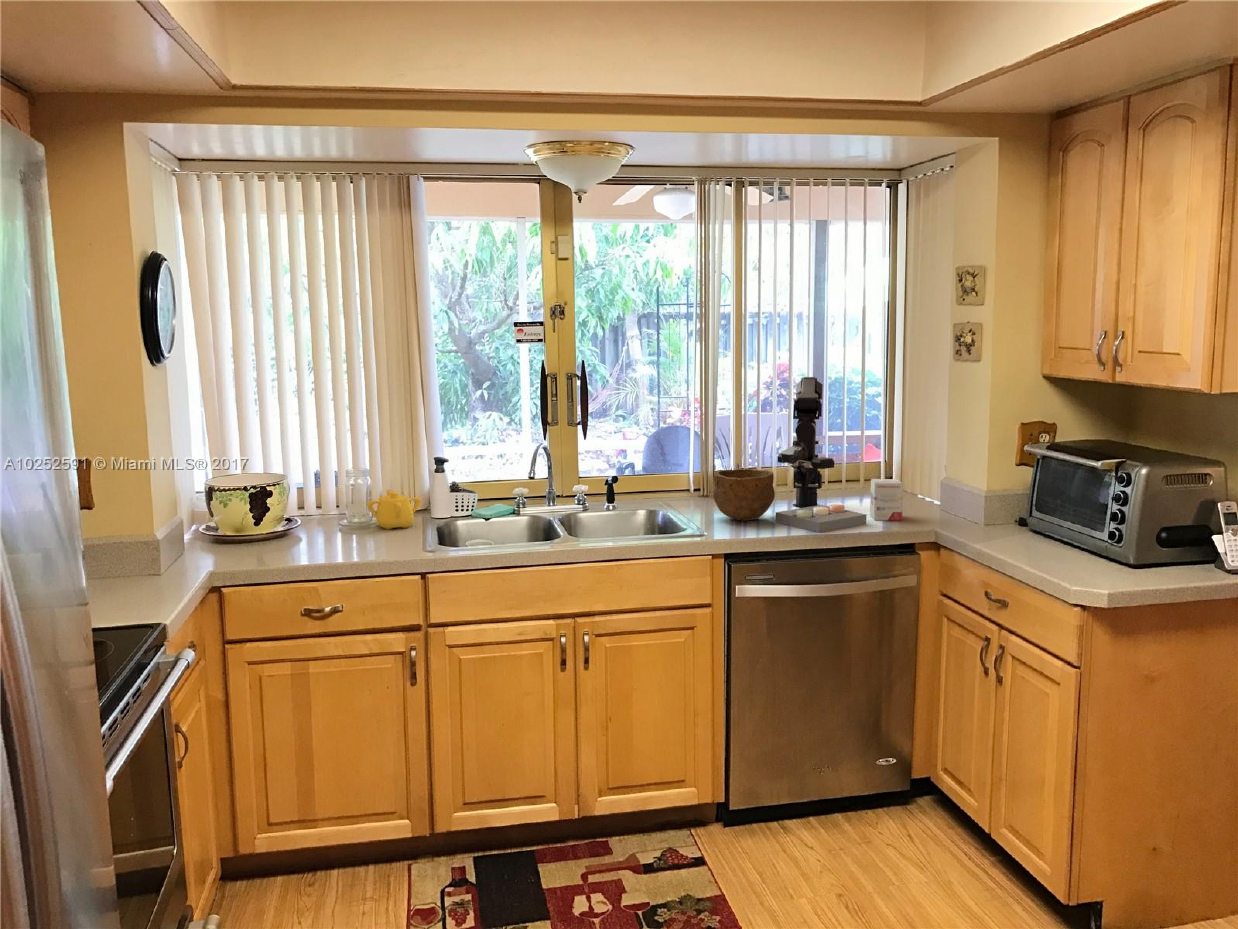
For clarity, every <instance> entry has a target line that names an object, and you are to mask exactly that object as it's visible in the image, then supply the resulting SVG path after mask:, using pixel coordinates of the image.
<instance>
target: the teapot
mask: <svg viewBox="0 0 1238 929" xmlns="http://www.w3.org/2000/svg"><path fill="white" fill-rule="evenodd" d="M412 501H415V504H414V506H413V505H412V504H411V502H412ZM421 503H422V499H421V498H420V497H419V496H418V497H417V496H415V497H410V498H409V497H408V496H406V495H404V494H399V492H398V491H397V492H396V491H394V492H392V491H391V490H390V489H386V495H384V496H380V497H379V500H369V501H367V502H366V506H367V509H368V510H369V511H370V512H371V514H373V515H374V516H375V520H376V522H377V524H378V526H379V527H381V528H385V530H392V529H394V528H401V529H407V528H409V527H411V526H412V524H413V522H414V516H415V515H414V514H415V512H416V511H417V510H418V508H420V505H421ZM374 504H377V507H376V510H375V509H374V506H373V505H374ZM412 506H413V507H412Z"/></svg>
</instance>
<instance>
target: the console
mask: <svg viewBox="0 0 1238 929" xmlns="http://www.w3.org/2000/svg"><path fill="white" fill-rule="evenodd" d="M814 507H826V508H828V515H823V516H819V515H815V514H813V509H814ZM797 510H810V511H812V517H811V518H805V519H803V518H799V517H797ZM774 518H775V521H774V522H775V523H778V524H783V525H786V526H791V527H795V528H798V529H802V530H807V531H811V532H814V531H816V532H815V533H818V532H820V533H823V532H822V531H826V532H829V531H836V530H837V531H838V530H842V529H848V528H852V527H858V526H864V524H865V525H867V513H866V514H865V513H862V512H858V511H857V512H856V511H853V510H848V509H845V512H841V513H835V512H830V505H826V504H825V505H824V504H818V506H812V507H806V508H802V507H798V508H793V509H787V510H780V511H775V517H774Z"/></svg>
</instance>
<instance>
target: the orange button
mask: <svg viewBox="0 0 1238 929" xmlns="http://www.w3.org/2000/svg"><path fill="white" fill-rule="evenodd" d="M829 506H830V512H835V513H841V512H845V510H846V509H845V505H843V504H839V503H838V504H835V503H833V504H829Z"/></svg>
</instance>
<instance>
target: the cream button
mask: <svg viewBox="0 0 1238 929" xmlns="http://www.w3.org/2000/svg"><path fill="white" fill-rule="evenodd" d="M813 514H815V515H819V516H823V515H828V508H826V507H814V509H813Z"/></svg>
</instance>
